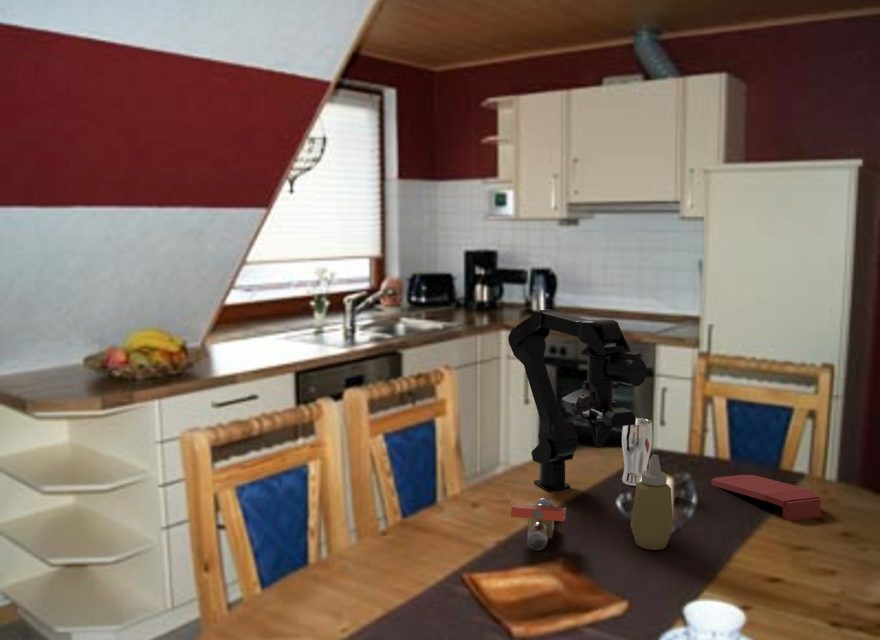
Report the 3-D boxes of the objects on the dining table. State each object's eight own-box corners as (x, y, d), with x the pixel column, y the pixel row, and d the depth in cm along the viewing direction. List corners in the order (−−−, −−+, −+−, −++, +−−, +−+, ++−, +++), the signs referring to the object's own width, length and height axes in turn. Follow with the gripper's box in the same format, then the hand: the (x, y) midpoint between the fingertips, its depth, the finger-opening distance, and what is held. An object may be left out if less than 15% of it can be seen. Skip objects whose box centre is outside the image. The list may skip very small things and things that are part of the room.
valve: (533, 514, 170) (534, 496, 170) (556, 516, 169) (556, 498, 168) (524, 549, 153) (524, 529, 152) (549, 551, 152) (549, 531, 151)
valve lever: (517, 501, 162) (511, 507, 152) (567, 505, 160) (564, 511, 149) (517, 510, 162) (510, 516, 151) (566, 514, 160) (563, 521, 149)
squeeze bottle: (662, 557, 150) (667, 465, 147) (622, 545, 155) (626, 456, 152) (678, 543, 156) (683, 454, 154) (639, 532, 161) (643, 446, 159)
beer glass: (647, 477, 194) (650, 418, 192) (652, 487, 187) (655, 425, 185) (618, 476, 195) (620, 417, 193) (622, 486, 188) (624, 424, 186)
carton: (708, 498, 191) (781, 522, 168) (707, 478, 192) (780, 498, 168) (750, 494, 195) (828, 516, 171) (750, 473, 195) (827, 493, 171)
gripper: (546, 372, 178) (544, 439, 180) (593, 389, 161) (590, 464, 163) (589, 368, 182) (586, 435, 184) (639, 385, 165) (635, 458, 167)
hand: (598, 447), depth 174 cm, fingers closed
